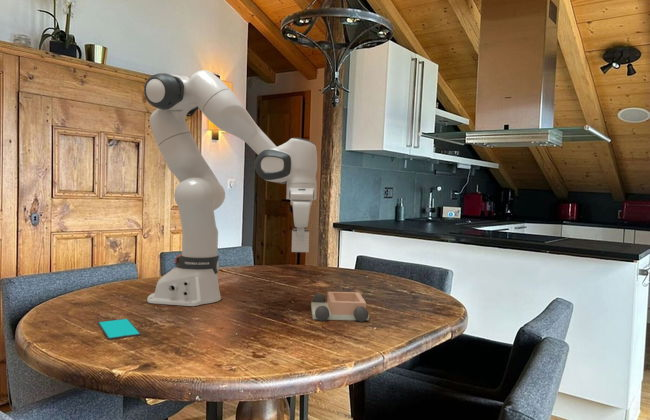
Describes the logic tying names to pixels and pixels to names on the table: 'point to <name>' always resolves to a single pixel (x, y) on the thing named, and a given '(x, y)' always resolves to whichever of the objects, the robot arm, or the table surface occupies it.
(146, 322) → the table surface
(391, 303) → the table surface
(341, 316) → the chassis
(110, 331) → the smartphone
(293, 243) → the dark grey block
